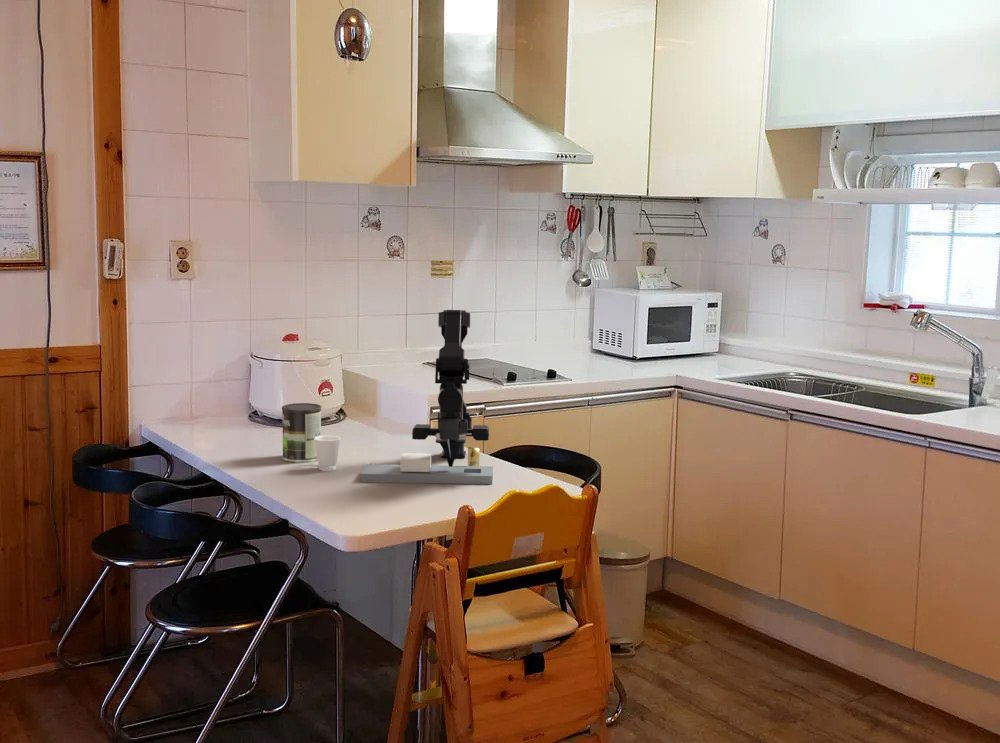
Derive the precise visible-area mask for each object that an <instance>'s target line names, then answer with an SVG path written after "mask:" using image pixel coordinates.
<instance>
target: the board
mask: <svg viewBox="0 0 1000 743" xmlns="http://www.w3.org/2000/svg"><path fill="white" fill-rule="evenodd" d="M493 477H494V466H489V465H488V466H487V465H482V466H480V465H479V466H468V465H453V466H452V467H449V465H432V464H431V467H430V471H429V472H403V471H400V464H373V463H372V464H370V463H369V464H365V466H364V468H363V469H362V471H361V473H360V483H401V484H402V483H403V484H404V483H407V484H408V483H409V484H457V485H459V484H463V485H464V484H465V485H467V484H468V485H472V484H473V485H493V479H494V478H493Z"/></svg>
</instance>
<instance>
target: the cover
mask: <svg viewBox="0 0 1000 743" xmlns="http://www.w3.org/2000/svg"><path fill="white" fill-rule="evenodd" d="M399 462H400V464H399V465H400V471H403V472H429V471H430V467H431V465H432V453H426V452H425V453H417V452H416V453H414V452H403V453H402V455H401V457H400V461H399Z"/></svg>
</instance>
